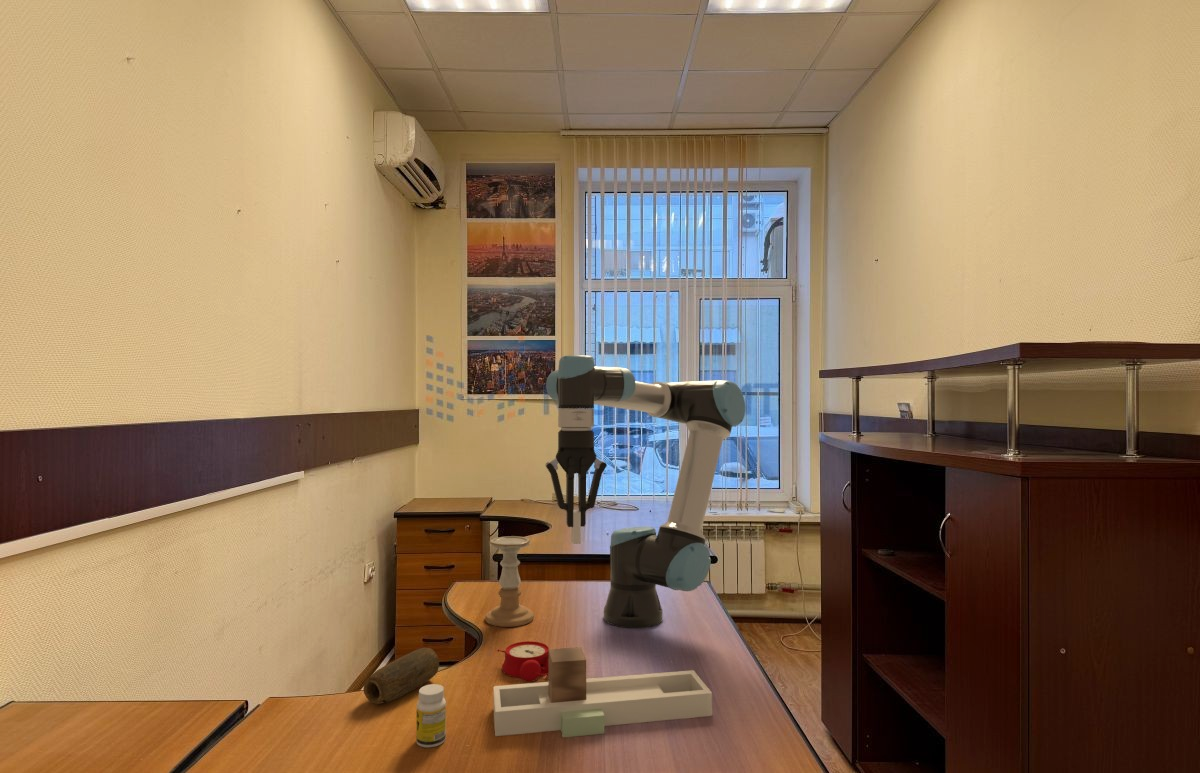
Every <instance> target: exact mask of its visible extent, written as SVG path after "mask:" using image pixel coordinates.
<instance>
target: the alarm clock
mask: <svg viewBox="0 0 1200 773" xmlns="http://www.w3.org/2000/svg"><path fill="white" fill-rule="evenodd" d="M549 649H550V648H549V645H547V644H545V643H543V642H538V641H533V640H532V641H519V642H515V643H513V644H509V645H508V646H507V647H506V648H505V650H501V649H497V650H496V651H497V652H500V653H504V661H503V663H502V665H501V671H502V672H503V673H504V674H505V675H507V676H510V677H513V678H517V679H518V678H519V679H522V680H523V681H524V682H527V683H533V682H534V681H537V679H538V678H539V677H541V676H549Z"/></svg>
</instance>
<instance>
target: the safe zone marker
mask: <svg viewBox="0 0 1200 773" xmlns="http://www.w3.org/2000/svg"><path fill="white" fill-rule="evenodd" d="M586 679H590V678H589V677H588V678H587V677H586ZM560 731H561V735H562V738H571V737H572V738H573V737H582V736H592V735H602V734H605V726H604V713H603V711H602V709H591V710H579V711H568V712H561V730H560Z"/></svg>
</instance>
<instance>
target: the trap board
mask: <svg viewBox="0 0 1200 773" xmlns="http://www.w3.org/2000/svg"><path fill="white" fill-rule="evenodd" d="M548 684H549V681H543V682H542V681H541V682H527V683H517V684H506V685H494V686H493V699H492V700H493V702H492V703H493V708H492V709H493V723H494V724H493V726H494V736H495V737H501V736H512V735H523V734H533V733H542V732H543V733H544V732H555V731H561V712H568V711H579V710H591V709H602V711H603V713H604V727H608V726H618V725H627V724H630V725H631V724H638V723H641V724H642V723H651V722H661V721H672V720H682V719H692V718H704V717H712V716H713V692H712V691H711V690H710V688H708V686H707V685H706V684H705V682H704V681H703V680H702V678H700V677H699V675H698V674H697V673H696V671H695V670H694V669H693V670H681V671H680V670H679V671H669V672H667V671H666V672H654V673H642V674H641V673H640V674H630V675H615V676H606V677H594V678H593V677H591V678H589V679H586V700H579V701H568V702H556V703H551V702H550V698H549V694H548Z"/></svg>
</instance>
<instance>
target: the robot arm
mask: <svg viewBox="0 0 1200 773" xmlns="http://www.w3.org/2000/svg"><path fill="white" fill-rule="evenodd" d="M545 384H546V385H545V389H546V392H547V395H548V396H549V397H550V399H552V400H554V401H556V402H558V403H557V404H558V406H557V407H558V411H557V413H558V416H557V418H558V419H557V420H558V421H557V422H558V423H557V424H558V425H557V427H558V428H560V429H559V431H558V432H557V435H558V436H557V444H558V445H557V452H556V455H555V458H554V459H553V460H551V461H548V462H546V463H545V468H546V469H547V471H548V472H549V474H550V478H551V482H552V486H553V490H554V494H555V498H556V503H557V506H558V508H559V509H560V510H563V511H565V512H566V526H567V527H568V528H571V543H573V545H575V544H576V545H579V544H581V543H582V542H581V538H582V537H581V535H582V534H581V530H582V528H581V527H585V526H586V521H587V520H586V519H587V518H586V512H587V511H588V510H589V509H593V508H594V507H595V504H596V500H597V497H598V492H599V489H600V484H601V480H602V475H603V473H604V471H605V469H606V468H607V466H608V464H607V463H606V462H605V461H602V460H600V459H599V458H598V457H597V454H596V452H595V431H594V430H593V429H592V428H594V427H595V405H597V406H604V407H609V408H617V409H623V410H630V411H636V412H637V411H638V412H643V413H644V412H645V413H647V415H649V416H650V417H653V418H659V419H663V420H668V421H671V422H675V423H678V424H679V423H681V424H685V427H686V428H687V429H688V431H689V435H688V438H687V443H686V446H685V451H684V455H683V459H682V461H681V466H680V470H679V475H678V479H677V482H676V486H675V490H674V494H673V499H672V502H671V506H670V510H669V514H668V517H667V520H666V522H665V523H663V524H662V525H661V524H660V525H659V528H658V531H656V528H655V527H653V526H634V527H632V526H631V527H626V528H620V529H616V530H614V531H613V532H612V533H611V535H610V545H609V563H610V564H609V566H610V568H609V569H610V574H609V576H610V587H609V588H610V589H609V593H608V595H607V599H606V603H605V605H604V607H603V620H604V621H605V622H606V623H608V624H610V625H612V626H615V627H620V628H629V629H637V628H638V629H639V628H649V627H653V626H656V625H658V624H660V623H661V622H662V621H663V607H662V606H661V602H660V601H661V600H660V598H659V595H658V592H657V588H656V586H661V587H665V588H668V589H671V590H673V591H683V592H692V591H695V590H696V589H698V587H700V586H701V585H702V584H703V583H704V581H705V580H706V578H707V576H708V574H709V572H710V568H711V564H712V563H711V561H712V559H711V557H710V556H711V553H710V550H709V548H708V547H707V546H706V545H705V544H706V537H705V534H704V533H703V531H702V530H703V526H704V521H705V518H706V513H707V508H708V505H709V504H708V503H709V500H710V495H711V491H712V487H713V483H714V478H715V473H716V470H717V466H718V461H719V459H720V458H719V457H720V453H721V448H722V444H723V442H724V440H725V439H728V438H729V437H730V436H731V432H732V429H733V427H736V426H739V425H741V423H742V422H743V421H744V418H745V415H746V402H745V397H744V394H743V392H742V389H741V388H740V386H738V385H737V383H735V382H734V381H731V380H722V379H715V380H694V381H693V380H689V381H688V380H687V381H678V382H674V381H673V382H663V381H654V382H652V383H647V382H642V381H637V380H636V377H635V375H634V374H633V372H632V371H631V370H630V369H628V368H625V367H619V366H597V365H596V364H595V359H594V357H593V356H592V355H583V354H582V355H581V354H580V355H578V354H575V355H574V354H573V355H571V354H569V355H563V356H562V357H560V358H559V361H558V369H556V370H554V371H552V372H551V373H550V374H549V375H548V377H547V378H546V383H545ZM558 464H559V466H560V467H561V469H563V471H564V472H565V481H566V482H565V483H566V484H565V485H566V486H565V487H566V488H565V490H566V493H565V494H566V495H565V497H566V498H564V496H563V492H562V486H561V483H560V478H559V474H558V472H557V470H558V469H559V466H558ZM593 464H594V465H593ZM592 465H593V469H594V471H593V474H592V480H591V484H590V487H589V492H588V498H587V472H588V471H589V470H590V468H591V467H592ZM575 474H577V477H578V484H577V486H578V487H577V488H578V491H577V493H578V494H577V495H578V497H577V498H578V502H577V503H578V509H575V506H574V503H575V496H574V495H575V494H574V493H575V491H574V490H575ZM657 532H658V533H657Z"/></svg>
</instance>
